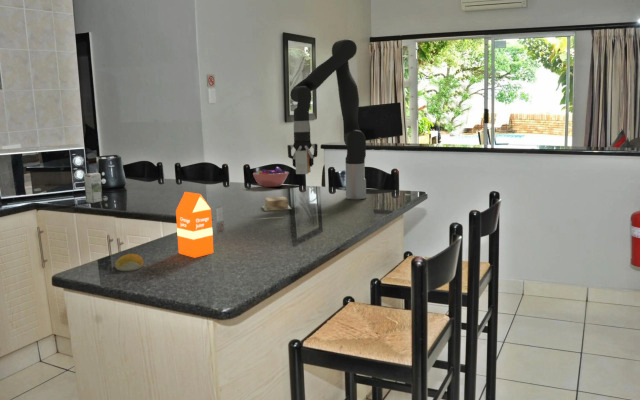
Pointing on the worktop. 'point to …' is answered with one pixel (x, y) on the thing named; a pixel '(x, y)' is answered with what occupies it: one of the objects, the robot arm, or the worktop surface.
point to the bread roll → (129, 262)
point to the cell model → (270, 177)
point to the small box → (302, 162)
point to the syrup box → (93, 187)
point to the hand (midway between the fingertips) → (303, 166)
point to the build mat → (277, 209)
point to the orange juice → (194, 226)
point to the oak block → (276, 203)
